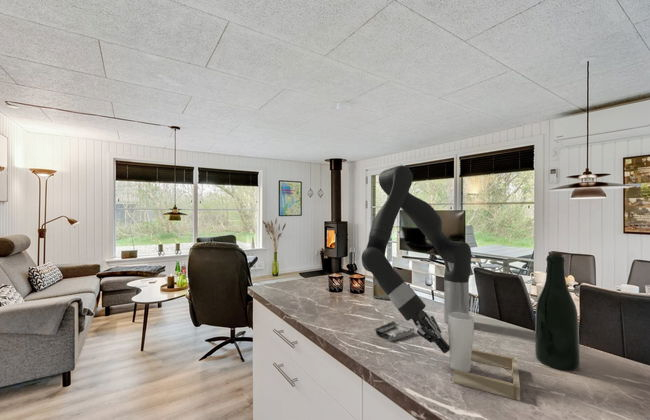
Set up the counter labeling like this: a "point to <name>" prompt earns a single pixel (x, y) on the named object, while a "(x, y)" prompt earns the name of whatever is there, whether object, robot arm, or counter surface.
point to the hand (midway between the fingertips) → (447, 350)
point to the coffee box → (378, 290)
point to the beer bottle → (556, 319)
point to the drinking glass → (460, 340)
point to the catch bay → (489, 383)
